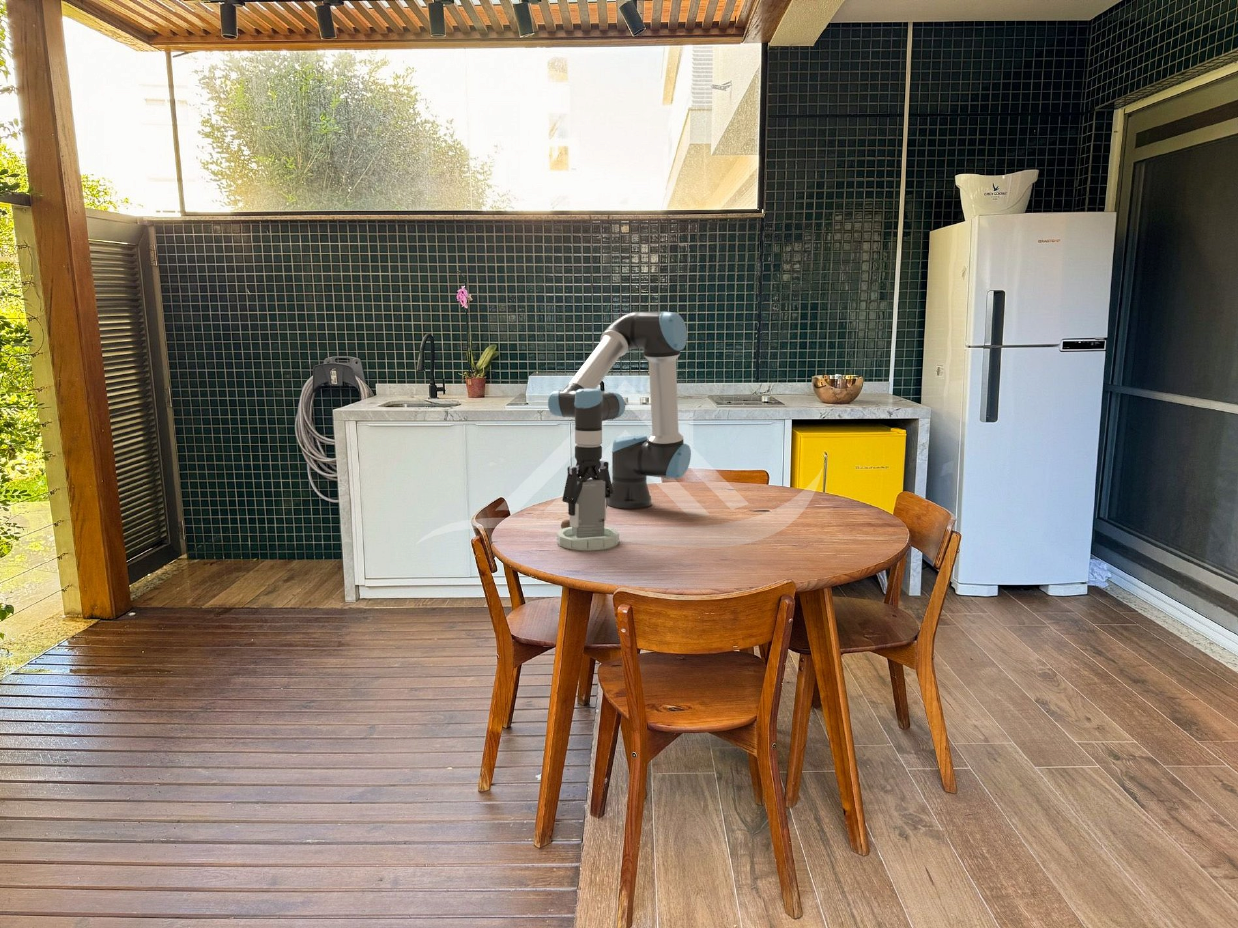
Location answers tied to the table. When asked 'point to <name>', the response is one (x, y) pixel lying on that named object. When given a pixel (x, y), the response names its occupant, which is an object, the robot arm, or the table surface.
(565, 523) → the bead
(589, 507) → the skincare box
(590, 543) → the tray
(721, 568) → the table surface
